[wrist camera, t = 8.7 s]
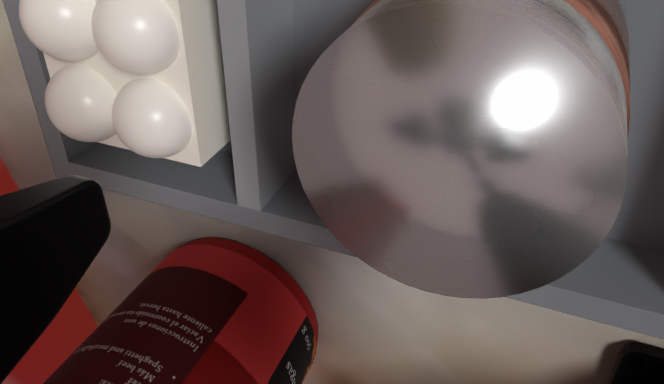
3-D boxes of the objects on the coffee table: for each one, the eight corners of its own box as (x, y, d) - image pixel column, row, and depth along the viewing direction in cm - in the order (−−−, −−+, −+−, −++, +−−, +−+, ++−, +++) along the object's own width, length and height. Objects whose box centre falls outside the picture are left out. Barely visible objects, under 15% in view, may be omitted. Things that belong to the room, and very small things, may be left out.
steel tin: (594, 152, 16) (579, 335, 11) (392, 114, 18) (293, 256, 13) (661, -75, 13) (687, 29, 8) (407, -94, 15) (283, -21, 9)
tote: (705, 267, 18) (720, 354, 15) (119, 131, 24) (56, 176, 21) (968, -275, 10) (1084, -294, 8) (32, -264, 17) (-80, -271, 14)
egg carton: (252, 119, 20) (177, 188, 17) (129, 94, 22) (37, 152, 18) (232, -156, 16) (123, -138, 12) (77, -164, 17) (-58, -150, 14)
